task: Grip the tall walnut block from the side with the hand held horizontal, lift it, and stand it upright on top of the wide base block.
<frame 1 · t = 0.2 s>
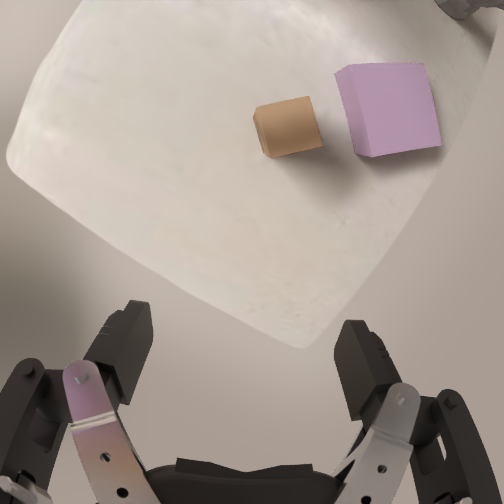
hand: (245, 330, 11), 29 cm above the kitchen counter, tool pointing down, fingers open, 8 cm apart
base block: (380, 108, 33), on the kitchen counter
walnut block: (276, 130, 34), on the kitchen counter
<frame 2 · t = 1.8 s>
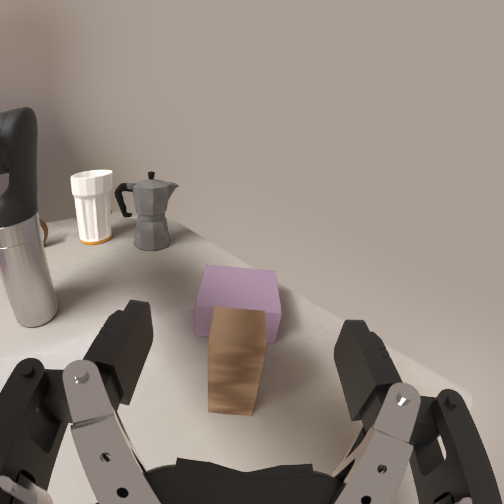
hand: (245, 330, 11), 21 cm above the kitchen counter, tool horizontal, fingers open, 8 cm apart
coffeepot: (147, 244, 65), on the kitchen counter
base block: (236, 316, 45), on the kitchen counter
cup: (96, 238, 65), on the kitchen counter
walnut block: (231, 397, 30), on the kitchen counter
tin: (26, 250, 54), on the kitchen counter
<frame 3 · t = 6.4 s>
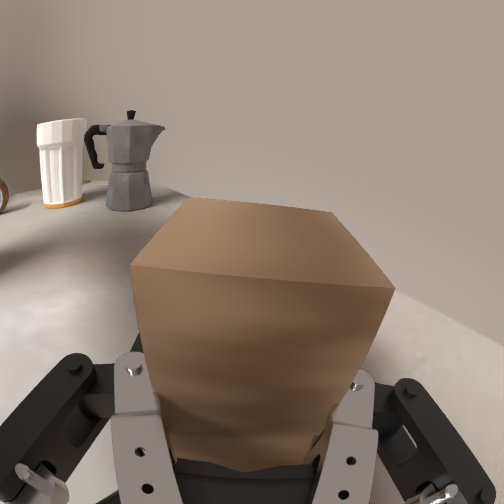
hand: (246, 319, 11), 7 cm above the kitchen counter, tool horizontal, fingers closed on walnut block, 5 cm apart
coffeepot: (123, 206, 48), on the kitchen counter
cup: (63, 203, 48), on the kitchen counter
walnut block: (234, 445, 12), on the kitchen counter, touching gripper
when the fingers open (14 cm above the kitchen counter, at t = 11.0 s): walnut block drops 2 cm, resting on base block.
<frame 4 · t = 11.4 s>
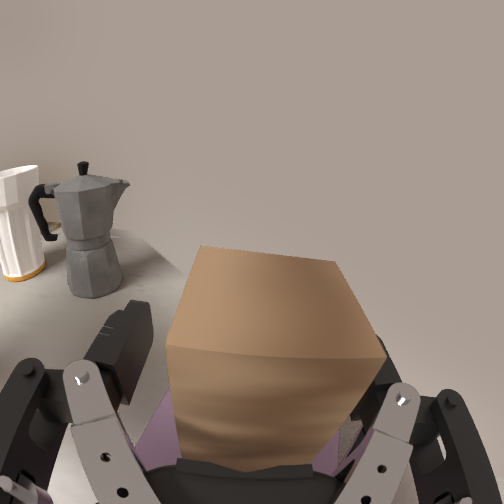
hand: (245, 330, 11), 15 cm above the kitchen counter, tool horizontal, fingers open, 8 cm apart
coffeepot: (89, 284, 36), on the kitchen counter
base block: (235, 476, 16), on the kitchen counter, touching walnut block
cup: (24, 269, 36), on the kitchen counter
walnut block: (235, 456, 13), point 6 cm above the kitchen counter, touching base block
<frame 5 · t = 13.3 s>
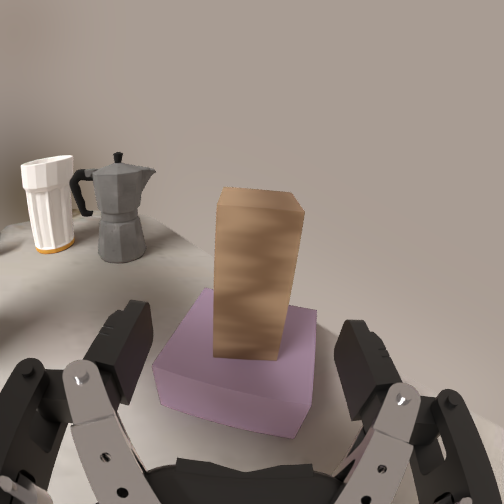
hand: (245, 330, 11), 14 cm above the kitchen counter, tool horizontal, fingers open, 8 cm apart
coffeepot: (116, 253, 46), on the kitchen counter
base block: (241, 378, 26), on the kitchen counter, touching walnut block
cup: (55, 245, 46), on the kitchen counter
walnut block: (244, 338, 23), point 6 cm above the kitchen counter, touching base block
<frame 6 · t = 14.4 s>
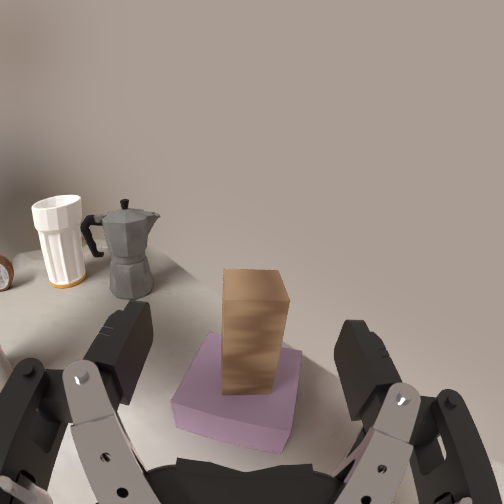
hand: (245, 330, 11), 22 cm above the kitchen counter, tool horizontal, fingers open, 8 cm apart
coffeepot: (126, 289, 51), on the kitchen counter
base block: (240, 405, 30), on the kitchen counter, touching walnut block
cup: (68, 278, 51), on the kitchen counter
walnut block: (244, 377, 28), point 6 cm above the kitchen counter, touching base block
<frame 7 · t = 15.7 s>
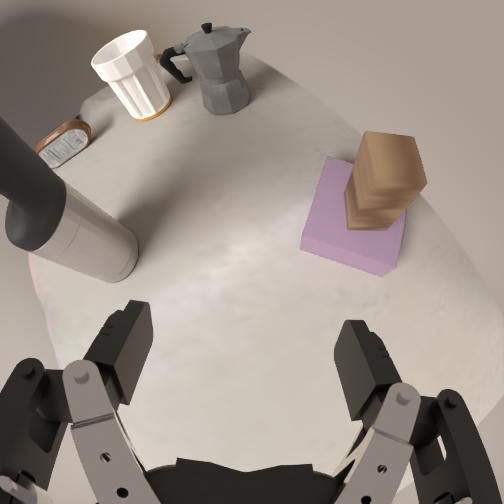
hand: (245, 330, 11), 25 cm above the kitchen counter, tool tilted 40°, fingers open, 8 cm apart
coffeepot: (222, 102, 47), on the kitchen counter
base block: (351, 225, 37), on the kitchen counter
cup: (151, 106, 50), on the kitchen counter
walnut block: (364, 211, 31), point 6 cm above the kitchen counter
tin: (72, 155, 50), on the kitchen counter
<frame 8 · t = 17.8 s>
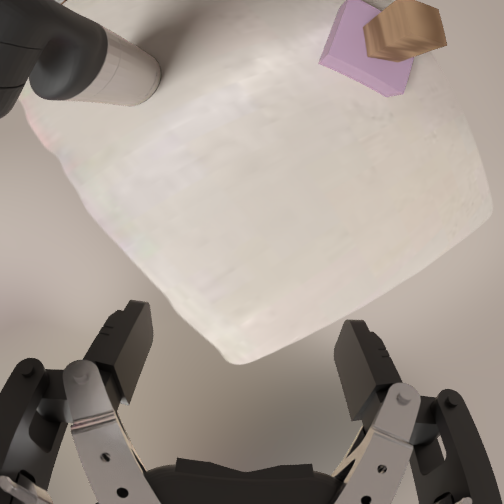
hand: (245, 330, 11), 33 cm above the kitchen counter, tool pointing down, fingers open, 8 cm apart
base block: (363, 50, 32), on the kitchen counter
walnut block: (381, 44, 26), point 6 cm above the kitchen counter
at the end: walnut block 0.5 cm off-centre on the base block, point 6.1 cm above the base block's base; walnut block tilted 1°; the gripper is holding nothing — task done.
